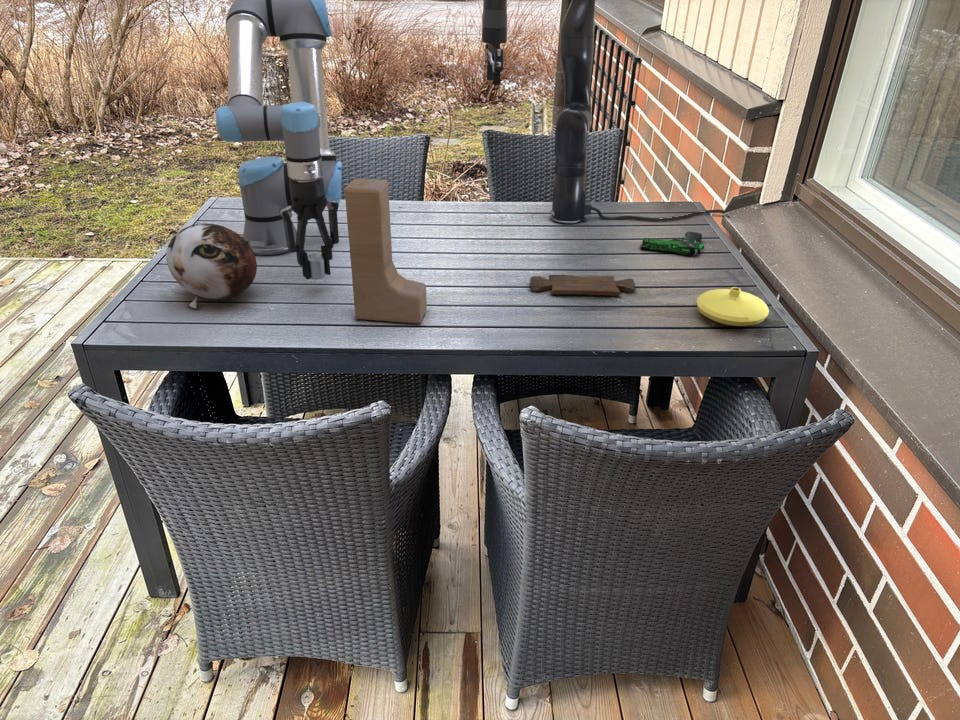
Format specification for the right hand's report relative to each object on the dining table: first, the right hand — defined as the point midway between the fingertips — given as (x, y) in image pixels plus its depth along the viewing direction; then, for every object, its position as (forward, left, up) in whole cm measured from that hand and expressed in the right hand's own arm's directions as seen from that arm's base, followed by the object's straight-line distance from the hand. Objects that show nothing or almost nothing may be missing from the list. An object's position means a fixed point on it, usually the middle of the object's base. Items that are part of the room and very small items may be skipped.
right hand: (493, 82), depth 222 cm
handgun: (-40, +56, -35) cm, 77 cm away
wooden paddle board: (-6, +78, -35) cm, 85 cm away
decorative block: (+42, +84, -35) cm, 100 cm away
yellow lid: (-34, +99, -35) cm, 110 cm away
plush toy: (+81, +67, -35) cm, 111 cm away
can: (+58, +68, -31) cm, 95 cm away
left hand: (+58, +68, -30) cm, 95 cm away
